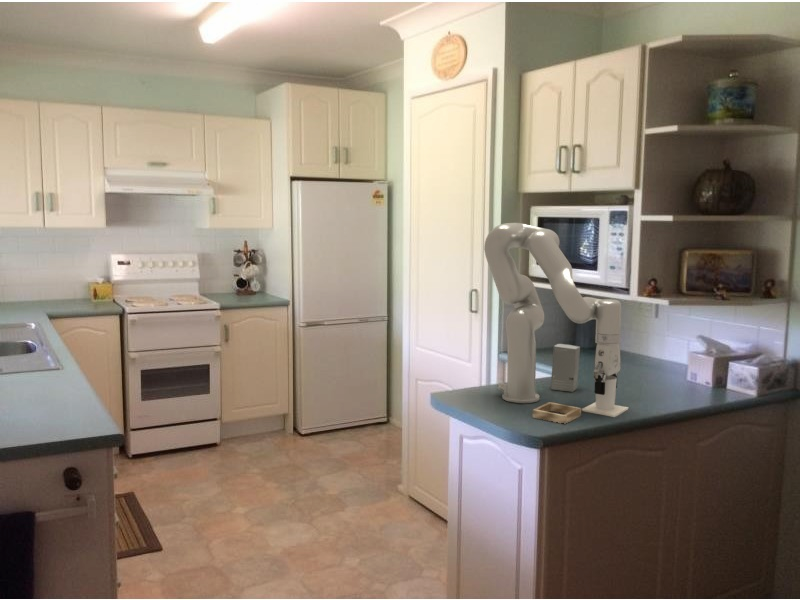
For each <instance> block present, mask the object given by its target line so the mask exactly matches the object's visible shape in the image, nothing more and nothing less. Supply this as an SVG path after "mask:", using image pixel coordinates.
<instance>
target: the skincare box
mask: <svg viewBox="0 0 800 600" xmlns="http://www.w3.org/2000/svg"><path fill="white" fill-rule="evenodd" d="M552 352H553V353H552V354H553V355H552V366H551V382H550V389H551V390H555V391H563V392H570V393H572V392H573V393H574V392H575V391H576V390H577V389H578V379H579V378H578V377H579V367H580V366H579V365H580V363H579V362H580V352H581V346H578V345H572V344H566V343H565V344H563V343H557V344H555V345H553V351H552Z"/></svg>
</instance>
